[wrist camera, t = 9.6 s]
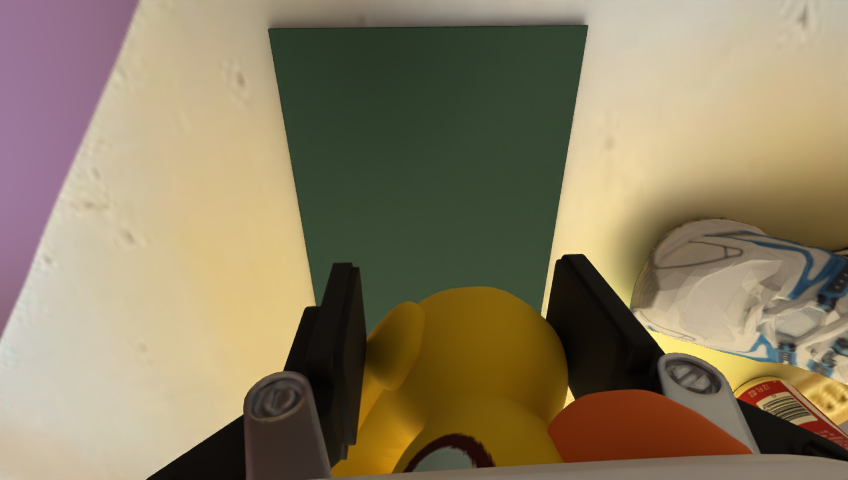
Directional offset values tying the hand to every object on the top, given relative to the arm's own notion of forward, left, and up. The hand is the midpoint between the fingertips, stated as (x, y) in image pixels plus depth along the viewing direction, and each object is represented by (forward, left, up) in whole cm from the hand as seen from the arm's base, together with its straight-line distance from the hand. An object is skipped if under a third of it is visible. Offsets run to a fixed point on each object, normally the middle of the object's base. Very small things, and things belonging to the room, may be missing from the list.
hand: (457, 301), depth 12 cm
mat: (+2, 0, -13) cm, 13 cm away
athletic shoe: (+8, +24, -13) cm, 29 cm away
